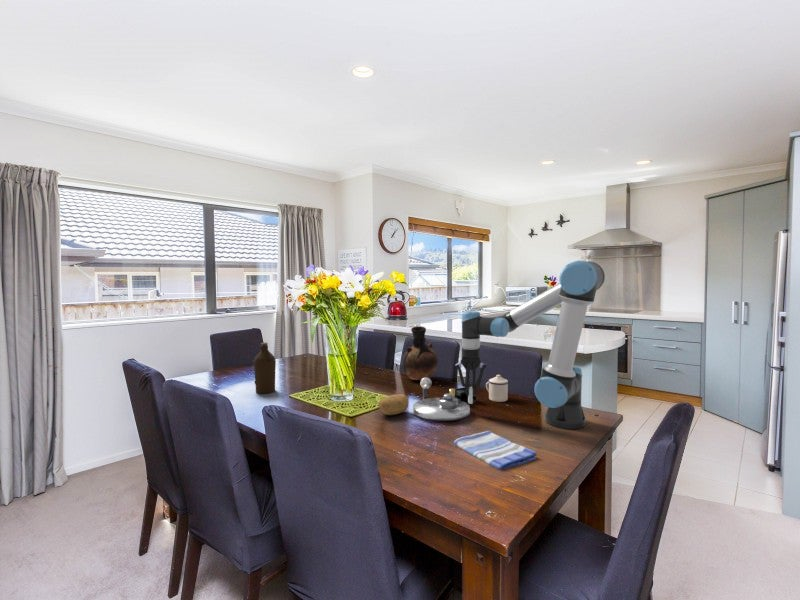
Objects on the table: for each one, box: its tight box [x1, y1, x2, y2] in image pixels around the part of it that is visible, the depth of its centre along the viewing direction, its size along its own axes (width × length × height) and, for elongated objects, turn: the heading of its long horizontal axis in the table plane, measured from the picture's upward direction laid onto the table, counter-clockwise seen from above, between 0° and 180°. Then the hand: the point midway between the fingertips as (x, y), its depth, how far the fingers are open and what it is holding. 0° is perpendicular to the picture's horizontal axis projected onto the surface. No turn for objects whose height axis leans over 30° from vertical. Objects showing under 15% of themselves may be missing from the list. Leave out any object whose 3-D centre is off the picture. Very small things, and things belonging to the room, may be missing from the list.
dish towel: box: [453, 430, 537, 471], centre depth 142 cm, size 17×24×3 cm
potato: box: [377, 393, 409, 416], centre depth 179 cm, size 10×14×8 cm
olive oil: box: [253, 342, 277, 395], centre depth 214 cm, size 11×11×25 cm
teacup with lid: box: [485, 374, 509, 403], centre depth 201 cm, size 12×9×12 cm
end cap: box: [454, 385, 477, 405], centre depth 195 cm, size 10×7×7 cm
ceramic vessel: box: [401, 325, 439, 381], centre depth 237 cm, size 21×18×30 cm
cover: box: [438, 392, 458, 409], centre depth 179 cm, size 8×8×5 cm
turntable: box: [412, 388, 471, 422], centre depth 179 cm, size 24×24×7 cm
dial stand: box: [419, 377, 432, 400], centre depth 193 cm, size 4×5×12 cm
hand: (470, 402), depth 179 cm, fingers closed
